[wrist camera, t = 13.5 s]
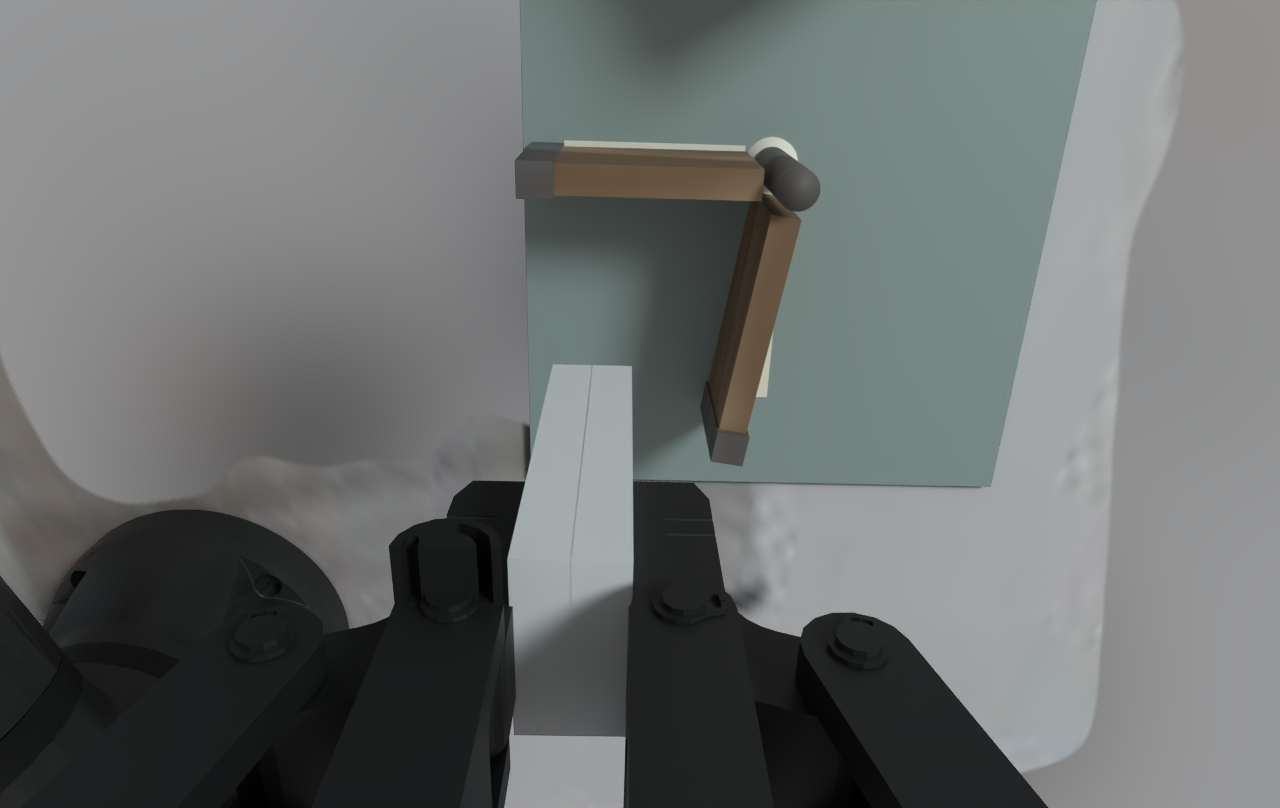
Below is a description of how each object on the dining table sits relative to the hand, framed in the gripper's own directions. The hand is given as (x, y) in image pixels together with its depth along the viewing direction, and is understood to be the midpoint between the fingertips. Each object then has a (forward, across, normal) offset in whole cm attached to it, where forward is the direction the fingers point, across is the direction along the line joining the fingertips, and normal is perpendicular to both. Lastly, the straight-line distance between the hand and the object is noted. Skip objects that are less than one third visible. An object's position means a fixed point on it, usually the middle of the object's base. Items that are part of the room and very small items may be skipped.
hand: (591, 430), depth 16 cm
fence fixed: (+24, +2, +2) cm, 25 cm away
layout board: (+24, +8, -2) cm, 26 cm away
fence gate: (+24, +6, -4) cm, 25 cm away
